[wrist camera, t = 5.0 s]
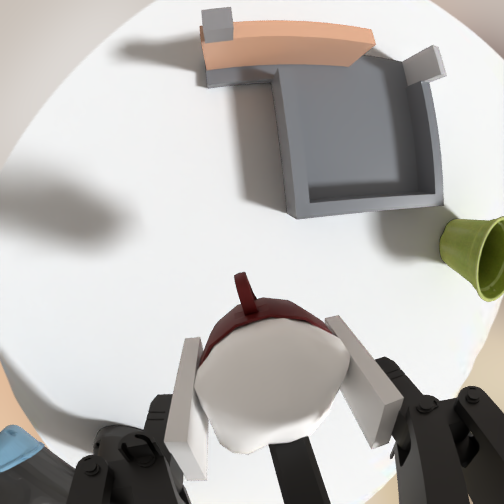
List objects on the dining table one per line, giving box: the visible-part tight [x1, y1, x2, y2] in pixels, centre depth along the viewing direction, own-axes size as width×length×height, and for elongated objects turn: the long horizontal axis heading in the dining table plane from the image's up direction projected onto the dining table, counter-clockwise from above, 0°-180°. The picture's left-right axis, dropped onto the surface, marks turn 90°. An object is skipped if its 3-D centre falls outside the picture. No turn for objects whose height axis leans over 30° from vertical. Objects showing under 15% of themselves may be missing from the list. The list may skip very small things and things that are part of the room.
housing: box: [205, 45, 447, 219], centre depth 21 cm, size 22×16×7 cm
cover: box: [200, 7, 376, 70], centre depth 18 cm, size 14×2×8 cm, turn 96°
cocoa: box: [194, 272, 351, 504], centre depth 9 cm, size 10×6×12 cm, turn 173°
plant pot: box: [439, 216, 504, 302], centre depth 25 cm, size 9×9×9 cm
